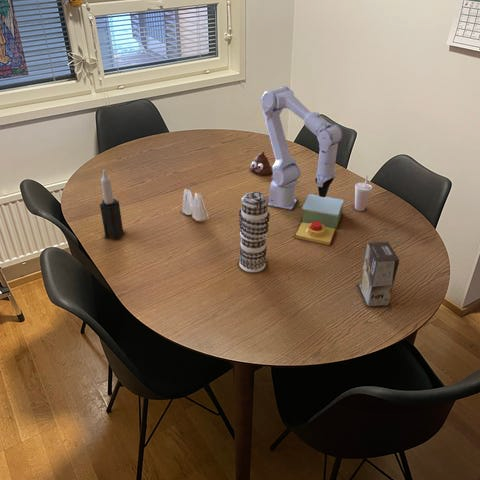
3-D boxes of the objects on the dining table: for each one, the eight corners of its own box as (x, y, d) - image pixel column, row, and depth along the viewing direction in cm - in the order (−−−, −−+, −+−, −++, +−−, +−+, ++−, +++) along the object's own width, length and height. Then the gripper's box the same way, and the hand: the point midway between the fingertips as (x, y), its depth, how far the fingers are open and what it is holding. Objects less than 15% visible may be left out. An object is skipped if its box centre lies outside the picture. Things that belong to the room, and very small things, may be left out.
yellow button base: (295, 237, 161) (296, 230, 159) (301, 224, 168) (302, 217, 166) (329, 245, 157) (330, 238, 155) (334, 231, 164) (335, 224, 163)
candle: (124, 232, 162) (115, 167, 148) (116, 240, 158) (106, 174, 144) (112, 229, 163) (101, 165, 150) (104, 237, 159) (92, 171, 145)
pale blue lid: (301, 209, 166) (301, 207, 166) (309, 195, 175) (309, 193, 175) (338, 216, 163) (338, 214, 162) (343, 201, 172) (343, 199, 171)
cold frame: (302, 222, 169) (303, 209, 166) (309, 207, 178) (310, 195, 175) (336, 229, 166) (338, 216, 163) (341, 213, 175) (343, 201, 172)
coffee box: (389, 305, 132) (400, 261, 124) (367, 306, 132) (377, 261, 123) (378, 284, 140) (388, 241, 131) (358, 285, 140) (366, 242, 131)
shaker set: (209, 221, 168) (208, 195, 162) (200, 225, 166) (199, 199, 160) (190, 208, 176) (189, 182, 170) (181, 212, 174) (179, 186, 168)
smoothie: (368, 213, 175) (374, 180, 167) (351, 211, 176) (356, 178, 168) (367, 205, 180) (374, 172, 172) (351, 203, 181) (356, 171, 173)
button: (309, 230, 160) (310, 225, 159) (312, 224, 163) (312, 220, 162) (320, 232, 159) (320, 227, 158) (322, 226, 162) (322, 222, 161)
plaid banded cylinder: (257, 276, 142) (261, 207, 129) (232, 266, 146) (233, 198, 133) (272, 261, 149) (276, 193, 135) (247, 252, 153) (249, 185, 139)
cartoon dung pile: (275, 170, 204) (276, 150, 199) (265, 177, 198) (266, 157, 193) (255, 165, 208) (256, 145, 203) (245, 172, 202) (246, 152, 197)
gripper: (333, 172, 150) (328, 208, 157) (343, 155, 161) (338, 189, 169) (312, 168, 152) (308, 203, 160) (323, 151, 164) (319, 185, 171)
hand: (322, 196), depth 164 cm, fingers closed
